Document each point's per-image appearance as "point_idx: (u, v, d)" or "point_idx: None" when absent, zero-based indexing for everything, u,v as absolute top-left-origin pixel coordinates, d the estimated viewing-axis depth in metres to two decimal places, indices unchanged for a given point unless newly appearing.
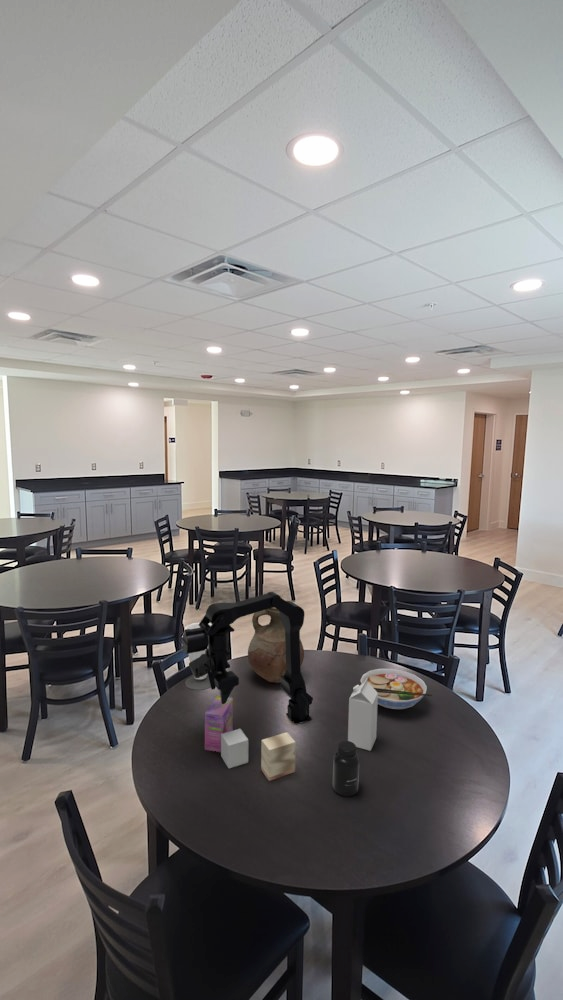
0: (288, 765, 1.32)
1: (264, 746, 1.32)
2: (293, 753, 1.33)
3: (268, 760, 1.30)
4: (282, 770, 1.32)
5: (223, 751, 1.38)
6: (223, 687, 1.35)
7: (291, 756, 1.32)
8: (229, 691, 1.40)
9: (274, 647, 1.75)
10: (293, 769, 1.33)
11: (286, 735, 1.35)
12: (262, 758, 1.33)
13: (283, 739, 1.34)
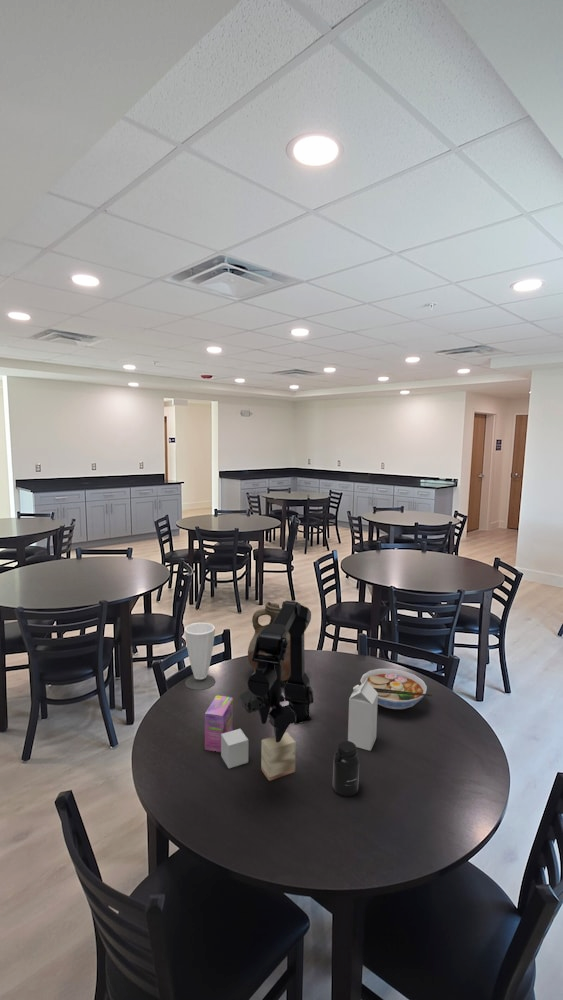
0: (288, 765, 1.32)
1: (264, 746, 1.32)
2: (293, 753, 1.33)
3: (268, 760, 1.30)
4: (282, 770, 1.32)
5: (223, 751, 1.38)
6: (279, 725, 1.20)
7: (291, 756, 1.32)
8: (284, 728, 1.25)
9: None
10: (293, 769, 1.33)
11: (286, 735, 1.35)
12: (262, 758, 1.33)
13: (283, 739, 1.34)
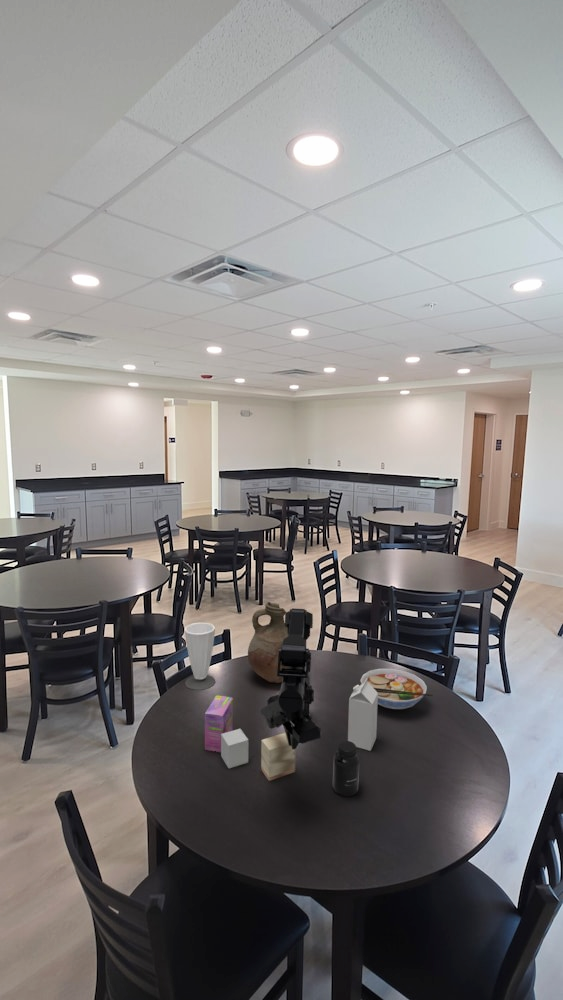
0: (288, 765, 1.32)
1: (264, 746, 1.32)
2: (293, 753, 1.33)
3: (268, 760, 1.30)
4: (282, 770, 1.32)
5: (223, 751, 1.38)
6: (305, 741, 1.15)
7: (291, 756, 1.32)
8: None
9: (274, 647, 1.75)
10: (293, 769, 1.33)
11: None
12: (262, 758, 1.33)
13: (283, 739, 1.34)
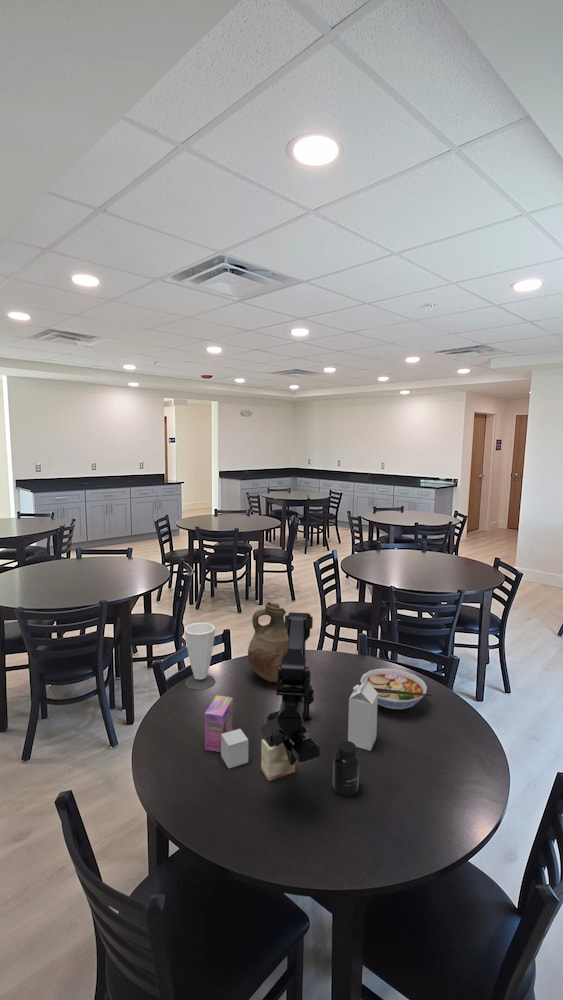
0: (288, 765, 1.32)
1: (264, 746, 1.32)
2: None
3: (268, 760, 1.30)
4: (282, 770, 1.32)
5: (223, 751, 1.38)
6: (304, 760, 1.16)
7: None
8: None
9: (274, 647, 1.75)
10: (293, 769, 1.33)
11: None
12: (262, 758, 1.33)
13: None
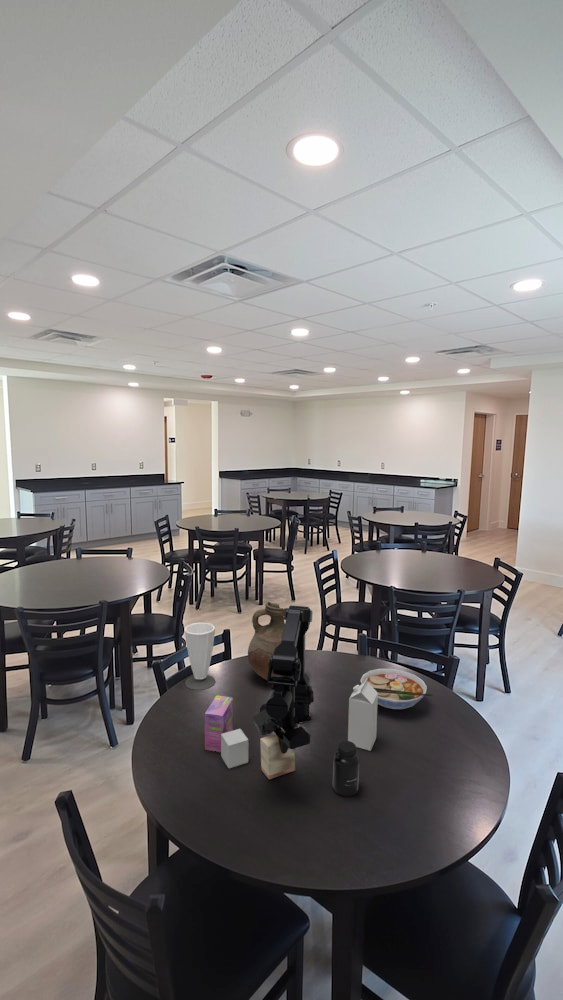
0: (287, 763, 1.32)
1: (263, 744, 1.32)
2: (292, 751, 1.33)
3: (267, 758, 1.30)
4: (282, 768, 1.32)
5: (223, 751, 1.38)
6: (295, 747, 1.21)
7: (290, 753, 1.33)
8: None
9: (274, 647, 1.75)
10: (293, 767, 1.33)
11: None
12: (262, 757, 1.34)
13: None
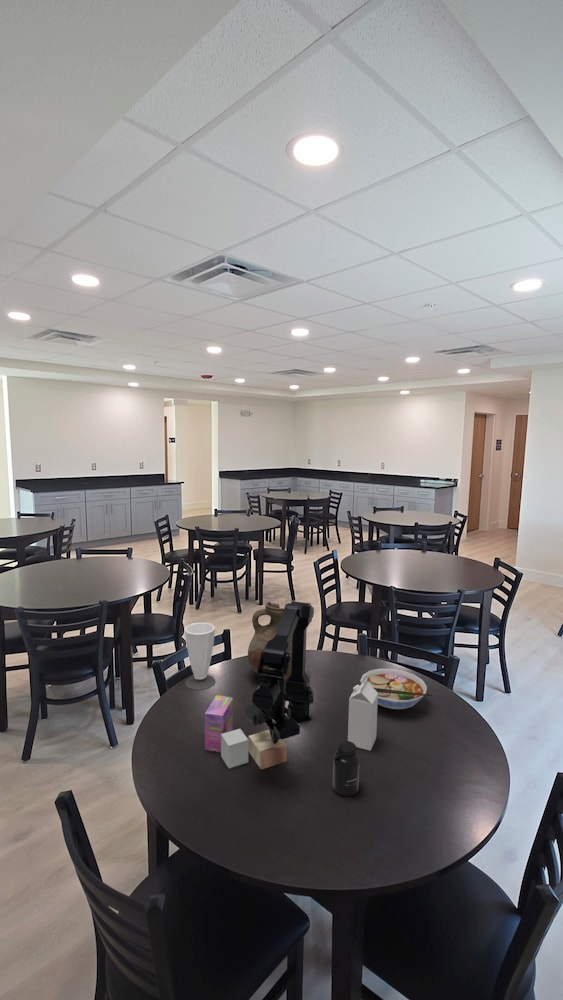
0: None
1: (249, 746, 1.41)
2: None
3: (253, 743, 1.39)
4: (272, 745, 1.37)
5: (223, 751, 1.38)
6: (284, 737, 1.25)
7: None
8: None
9: None
10: (283, 744, 1.38)
11: None
12: (255, 759, 1.38)
13: None
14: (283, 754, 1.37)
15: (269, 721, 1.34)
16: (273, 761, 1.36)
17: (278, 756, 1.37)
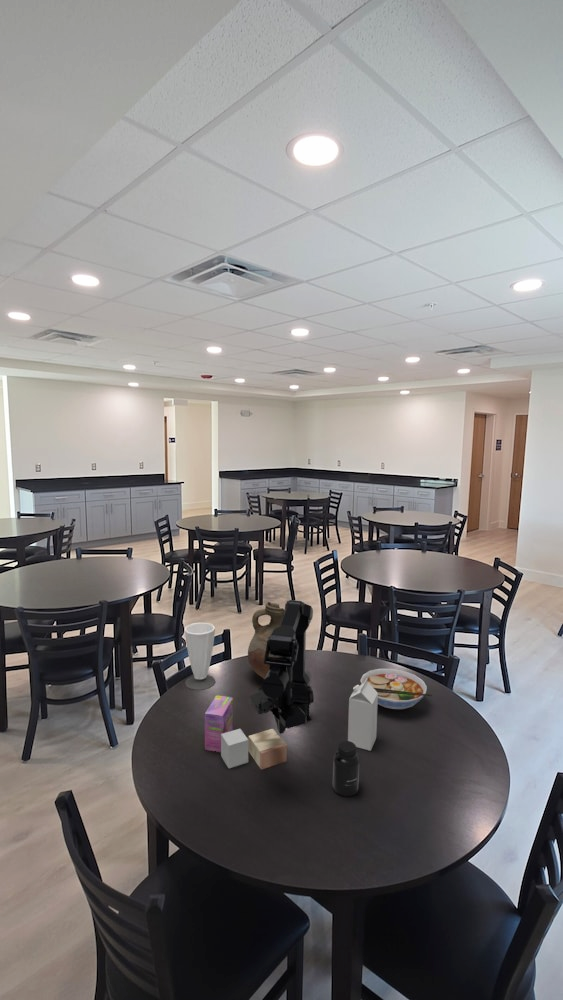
0: (275, 742, 1.39)
1: (249, 746, 1.41)
2: (275, 734, 1.42)
3: (253, 743, 1.39)
4: (272, 745, 1.37)
5: (223, 751, 1.38)
6: (290, 726, 1.22)
7: (275, 736, 1.41)
8: None
9: None
10: (283, 744, 1.38)
11: None
12: (255, 759, 1.38)
13: None
14: (283, 754, 1.37)
15: (275, 710, 1.31)
16: (273, 761, 1.36)
17: (278, 756, 1.37)
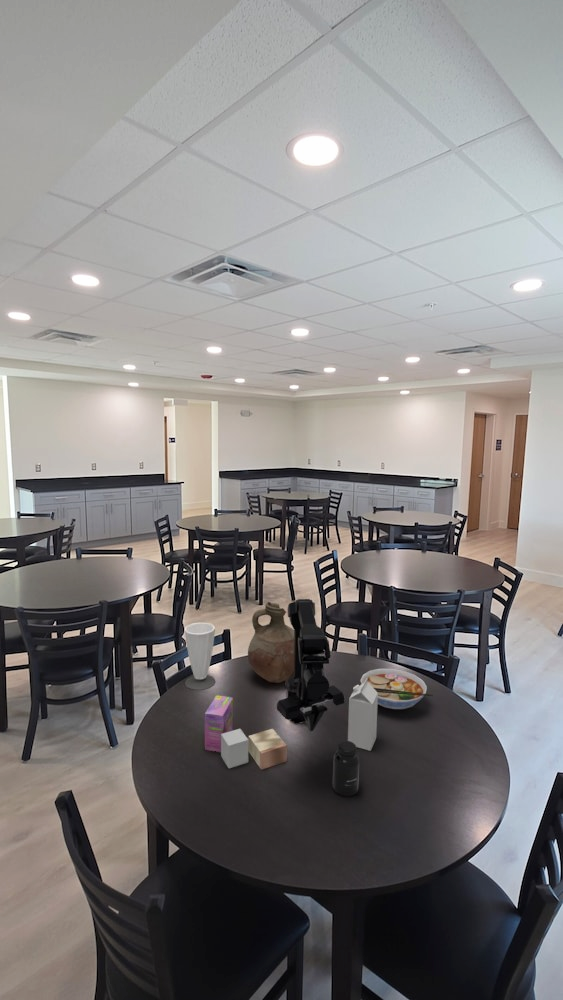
0: (275, 742, 1.39)
1: (249, 746, 1.41)
2: (275, 734, 1.42)
3: (253, 743, 1.39)
4: (272, 745, 1.37)
5: (223, 751, 1.38)
6: (278, 709, 1.29)
7: (275, 736, 1.41)
8: (308, 720, 1.30)
9: (274, 647, 1.75)
10: (283, 744, 1.38)
11: None
12: (255, 759, 1.38)
13: None
14: (283, 754, 1.37)
15: None
16: (273, 761, 1.36)
17: (278, 756, 1.37)
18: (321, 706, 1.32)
